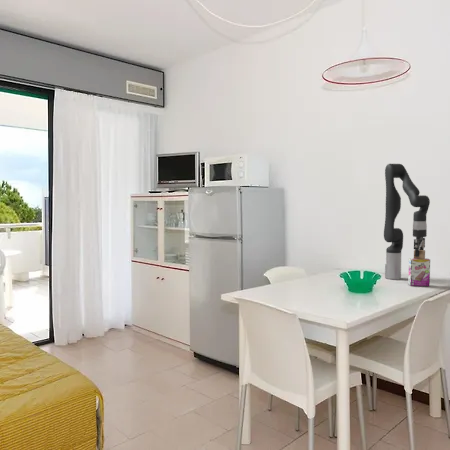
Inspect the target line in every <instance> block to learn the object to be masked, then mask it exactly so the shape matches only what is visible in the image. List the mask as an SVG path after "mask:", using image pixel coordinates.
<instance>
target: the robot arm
mask: <svg viewBox="0 0 450 450" xmlns="http://www.w3.org/2000/svg"><path fill="white" fill-rule="evenodd" d="M384 178H385V179H384V180H385V217H384V219H385V220H384V228H383V239H384V241H385V242H386V243H391V244H390V246H388V247H386V249H385V251H386V252H385V254H386V258H385V262H386V263H385V264H384V265H385V266H384V279H388V280H401V279H402V250H403V247H404V232H403V230H402V229H401V228H398V227H395V222H396V221H395V220H396V219H397V217H398V215H399V213H400V211H401V208H402V201H401V200H402V198H401V195H400V193H399V192H398V190H397V188H396V185H395V179H400V180H401V181H402V186H401V187H402V190H403V192H404V193H405V195H406V196H407V197H408V200H409V203H410V205H411V206H412V207H413V208H419V209H418V210H416V211H414V212H413V217H412V218H413V222H412V237H414V239H413V250H415V256H416V257H419V250H424V249H425V247H426V238H427V234H428V233H427V229H428V228H427V227H428V226H427V213H428V211H429V207H430V203H431V201H430V198H429V196H428V195H425V194H424V195H421V194H420V193H421V192H420V190H419V188H418V187H417V186H416V184H415V183H414V182H413V180H412V179H411V177H410V175H409V173H408V171H407V169H406V167H405V166H404V165H403V164H402V163H387V164H386V166H385V168H384Z"/></svg>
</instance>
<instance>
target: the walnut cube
mask: <svg viewBox="0 0 450 450" xmlns="http://www.w3.org/2000/svg"><path fill="white" fill-rule="evenodd" d="M413 258H414V259H425V258H426V249H425V250H419V257H416V256H415V249H413Z"/></svg>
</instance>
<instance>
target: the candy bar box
mask: <svg viewBox="0 0 450 450" xmlns="http://www.w3.org/2000/svg"><path fill="white" fill-rule="evenodd" d="M430 279H431V259H430V258H428V257H427V258H426V257H425V259H414V257H409V258H408V279H407V280H408V281H407V285H408V286H410V287H430V284H431V283H430Z"/></svg>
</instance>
